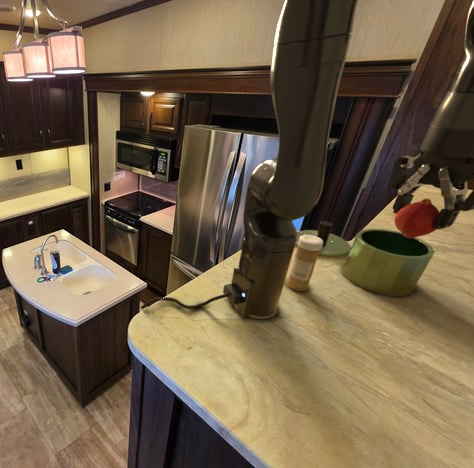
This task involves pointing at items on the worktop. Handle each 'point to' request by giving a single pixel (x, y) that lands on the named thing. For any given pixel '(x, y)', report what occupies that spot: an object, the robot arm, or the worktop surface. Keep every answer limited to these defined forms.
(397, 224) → the onion
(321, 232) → the bin lid
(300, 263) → the sprinkles bottle
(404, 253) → the bin
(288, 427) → the worktop surface
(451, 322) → the worktop surface
